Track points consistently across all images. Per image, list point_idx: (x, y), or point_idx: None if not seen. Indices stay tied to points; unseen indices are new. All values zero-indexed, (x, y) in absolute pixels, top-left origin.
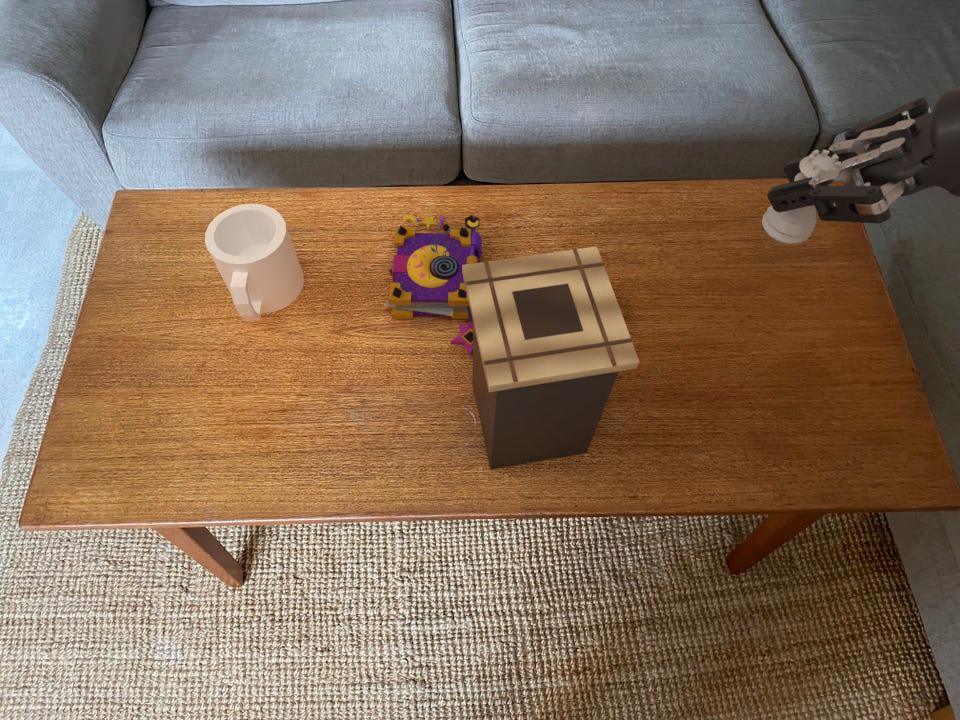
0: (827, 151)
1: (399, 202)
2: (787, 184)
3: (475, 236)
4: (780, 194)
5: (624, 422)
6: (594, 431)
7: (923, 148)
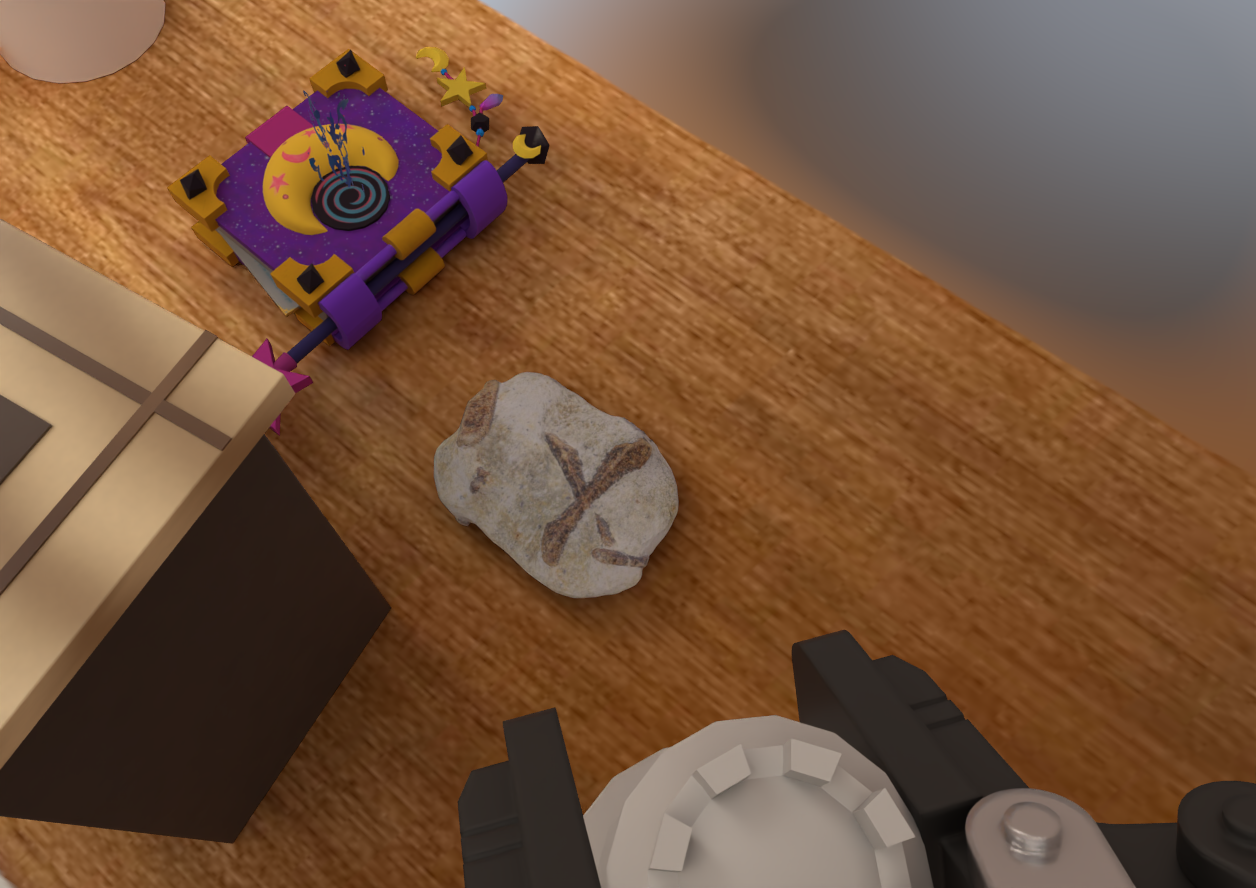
0: (894, 827)
1: (469, 17)
2: (556, 784)
3: (478, 175)
4: (495, 800)
5: (387, 847)
6: (174, 836)
7: None
